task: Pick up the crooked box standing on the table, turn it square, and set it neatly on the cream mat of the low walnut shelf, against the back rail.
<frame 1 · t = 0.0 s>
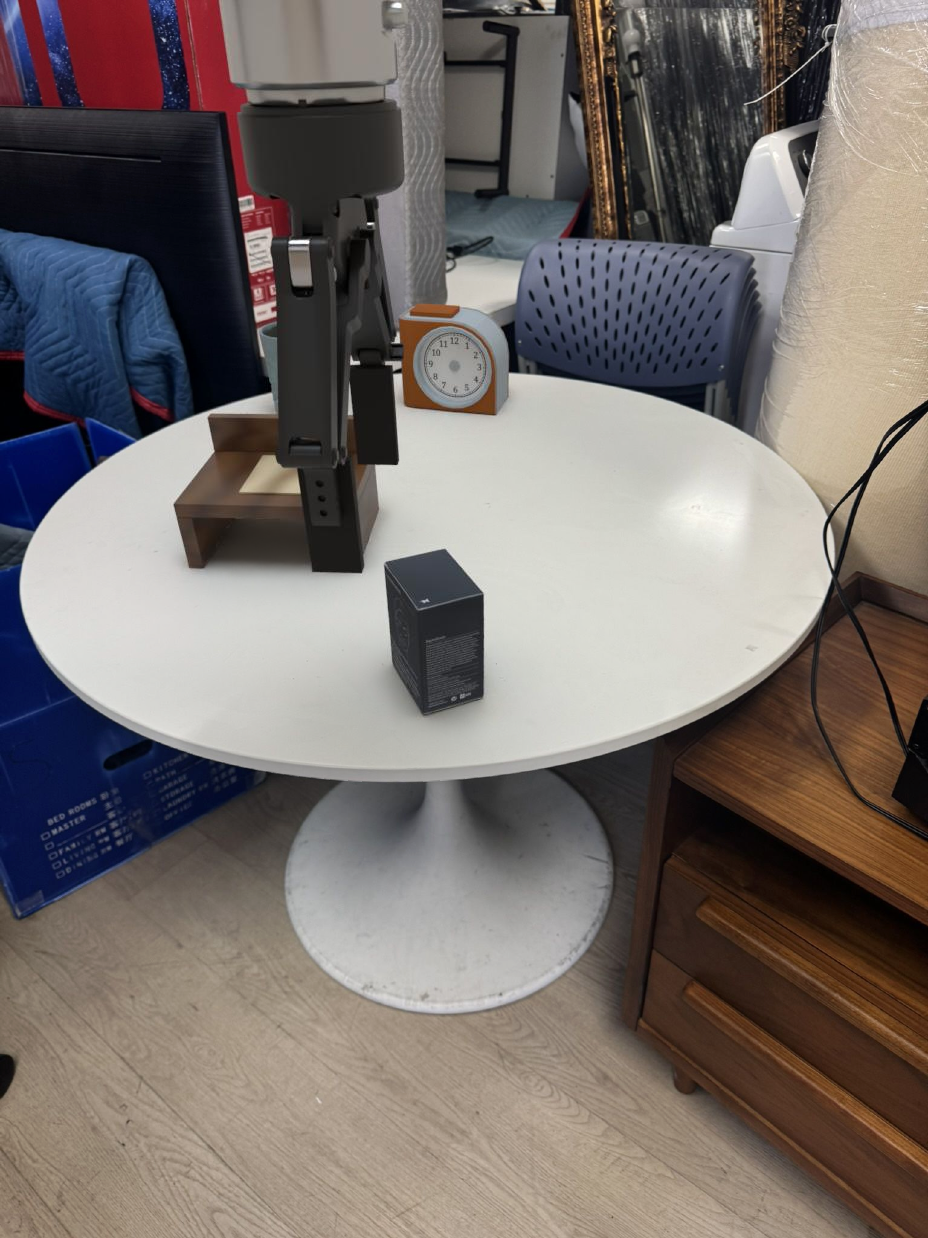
hand: (360, 510, 50), 22 cm above the table, tool pointing down, fingers open, 13 cm apart
shelf: (289, 536, 91), on the table
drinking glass: (306, 410, 122), on the table
alarm clock: (454, 402, 124), on the table
box: (436, 681, 70), on the table
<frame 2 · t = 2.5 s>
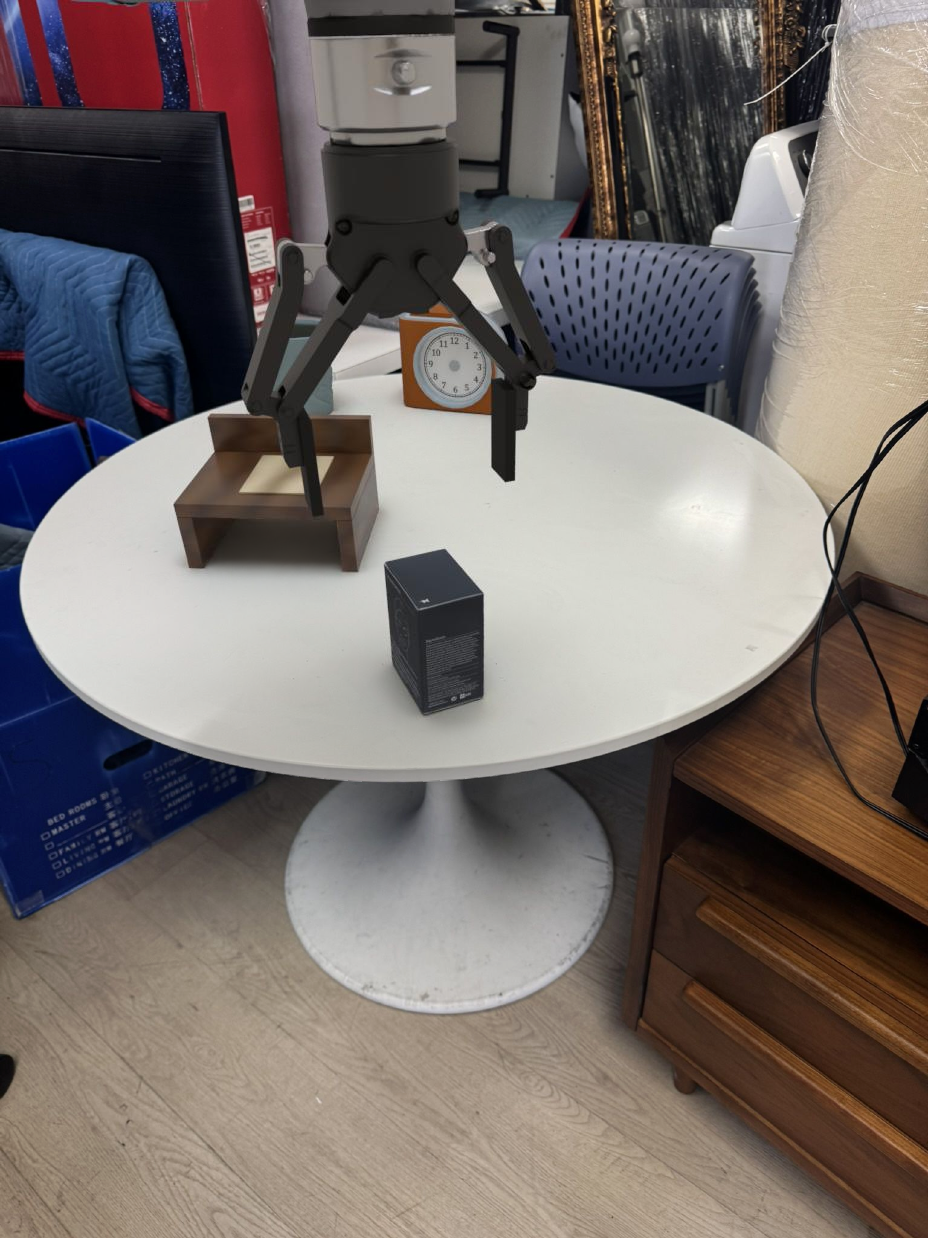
hand: (411, 490, 56), 19 cm above the table, tool pointing down, fingers open, 13 cm apart
nothing on the table moved.
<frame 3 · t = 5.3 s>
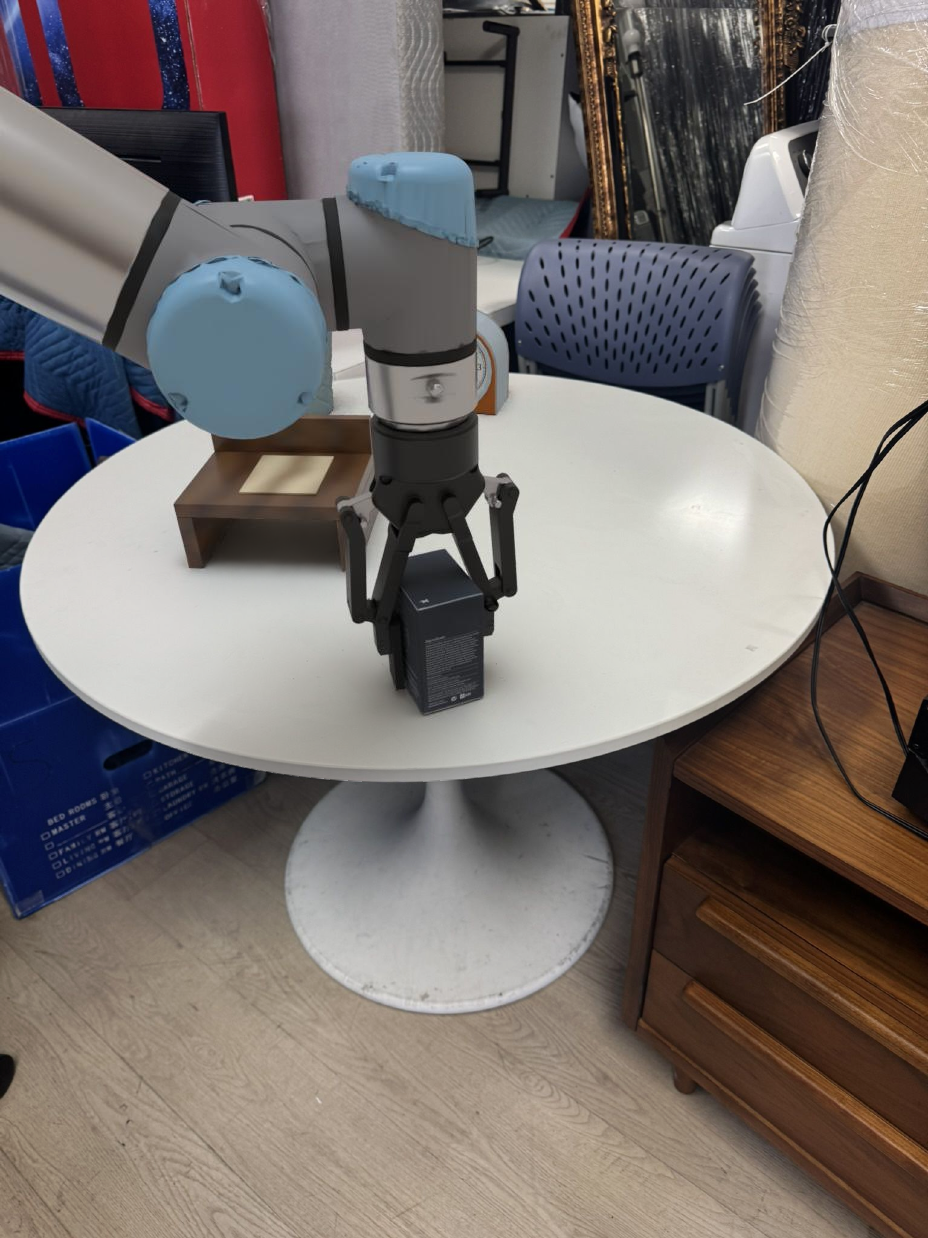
hand: (436, 671, 70), 1 cm above the table, tool pointing down, fingers closed on box, 6 cm apart
box: (437, 681, 70), on the table, touching gripper
everything else where it was.
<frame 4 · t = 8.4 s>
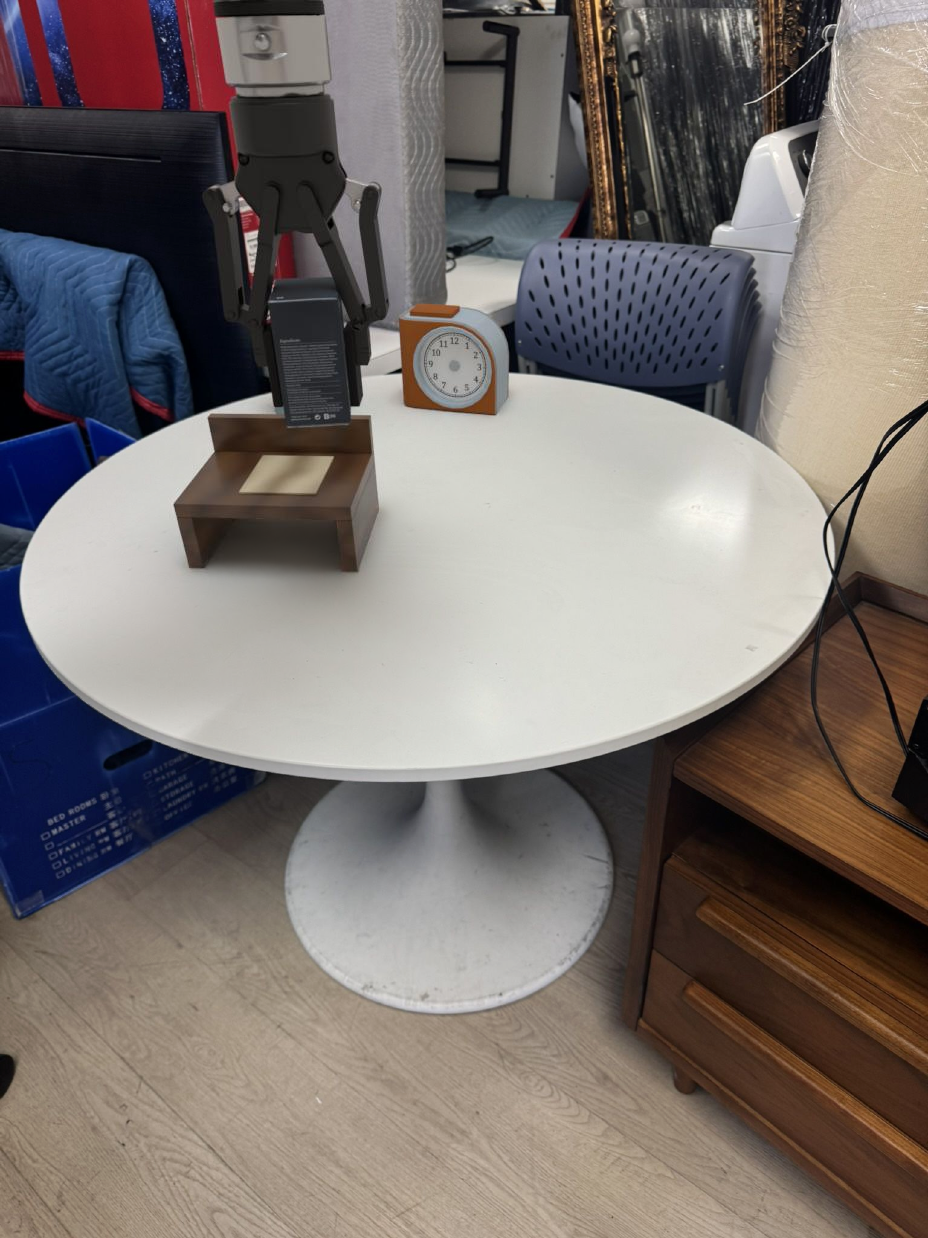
hand: (319, 400, 72), 19 cm above the table, tool pointing down, fingers closed on box, 6 cm apart
box: (321, 413, 73), point 18 cm above the table, touching gripper
everything else where it was.
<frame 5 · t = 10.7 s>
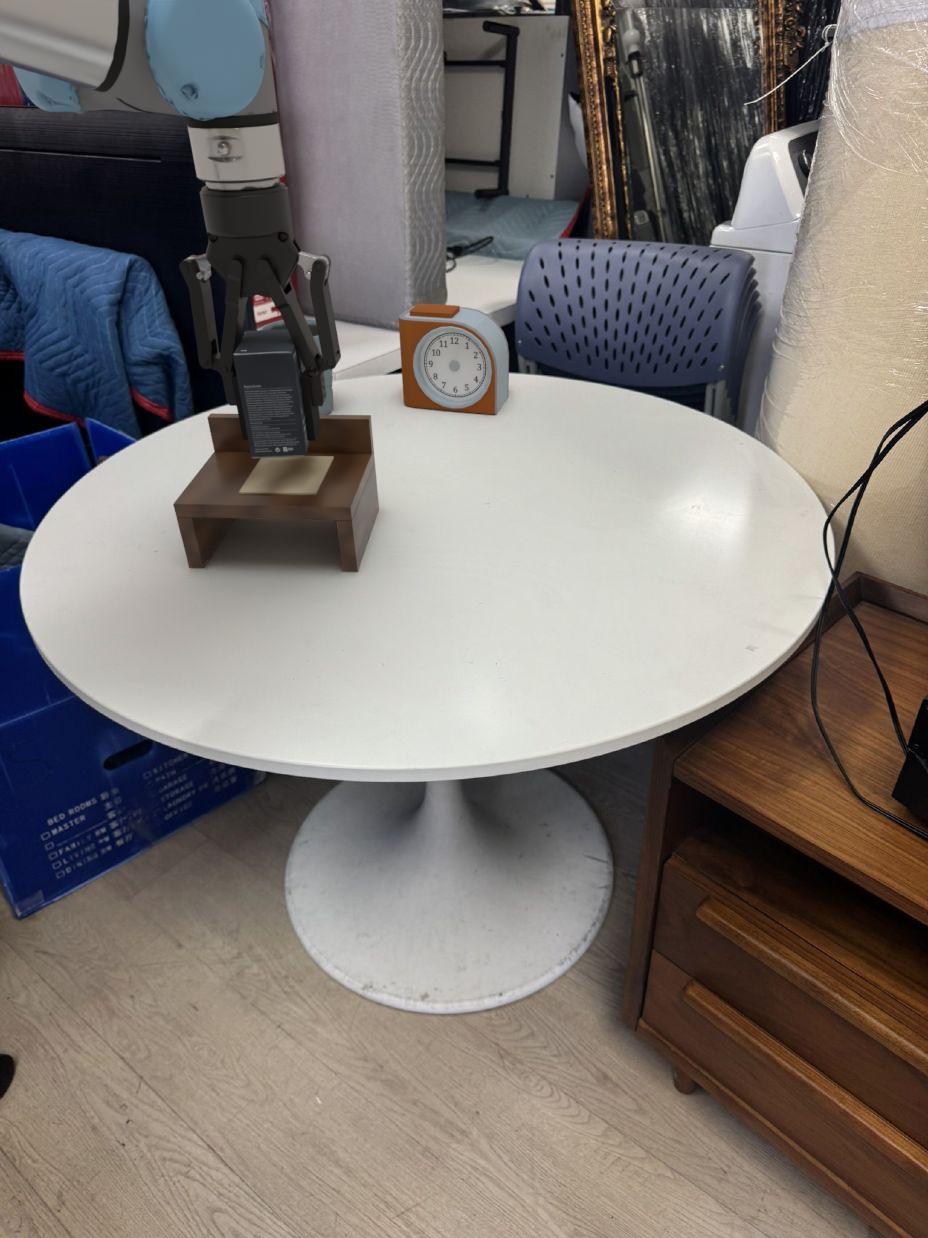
hand: (282, 434, 84), 12 cm above the table, tool pointing down, fingers closed on box, 6 cm apart
box: (284, 444, 85), point 11 cm above the table, touching gripper
everything else where it was.
when the fingers open (9 cm above the table, at t = 12.0 s): box stays where it is, resting on shelf.
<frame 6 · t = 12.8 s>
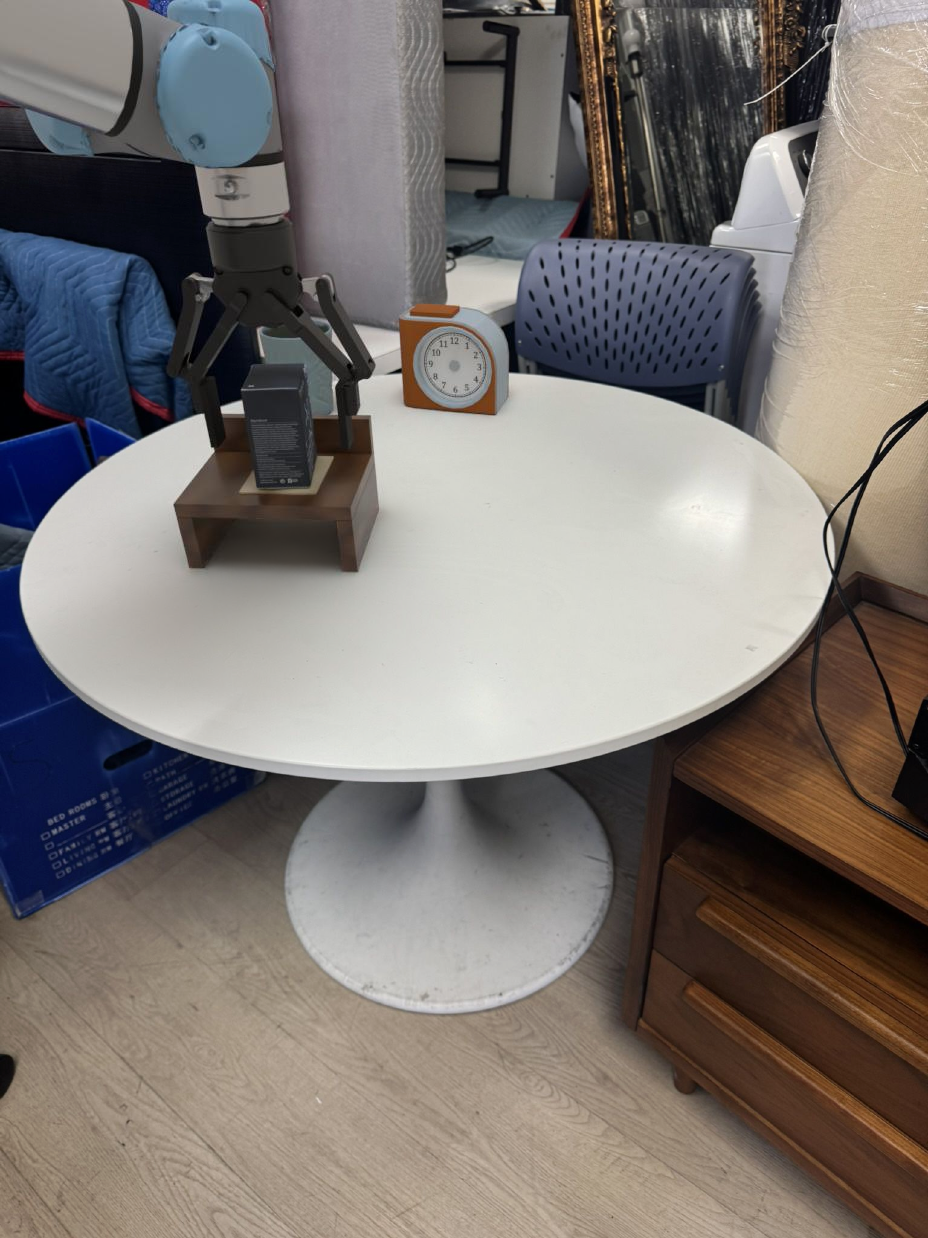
hand: (283, 443, 84), 11 cm above the table, tool pointing down, fingers open, 13 cm apart
box: (288, 474, 86), point 8 cm above the table, touching shelf
everything else where it was.
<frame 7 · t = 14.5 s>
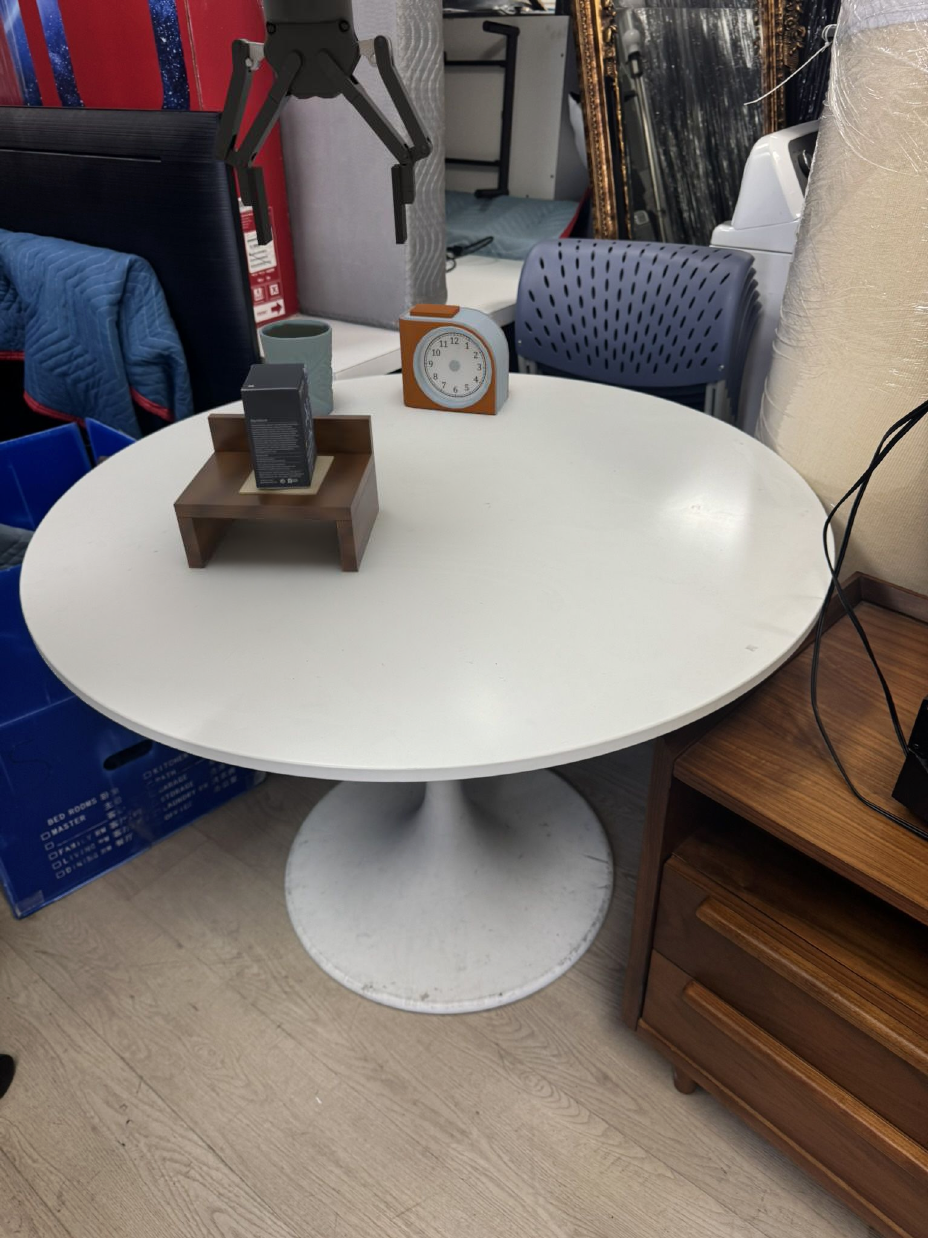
hand: (333, 242, 80), 29 cm above the table, tool pointing down, fingers open, 13 cm apart
nothing on the table moved.
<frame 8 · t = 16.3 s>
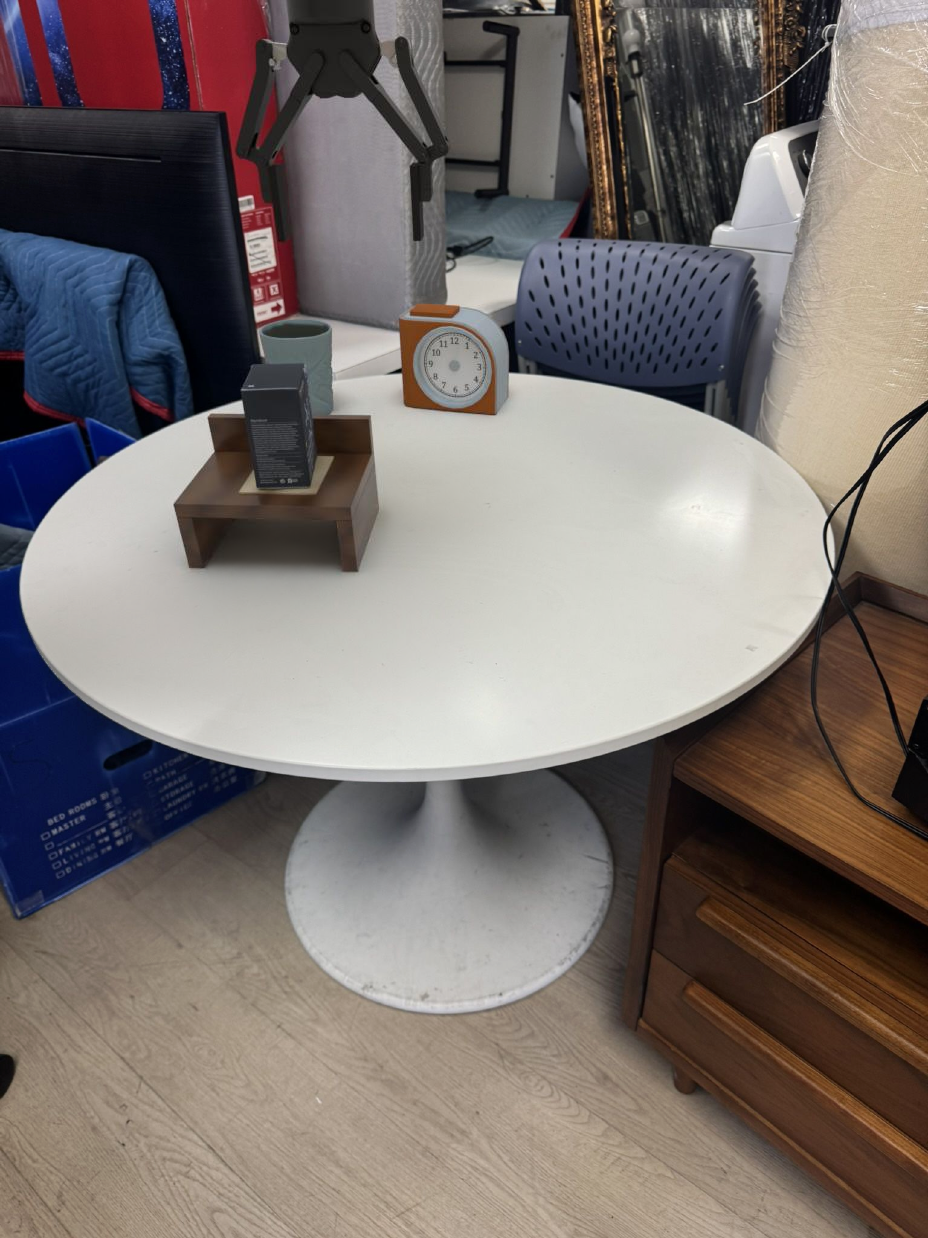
hand: (351, 239, 82), 29 cm above the table, tool pointing down, fingers open, 13 cm apart
nothing on the table moved.
at the end: box inside the target area on the shelf (0.0 cm from its centre), point 7.5 cm above the shelf's base; box tilted 0°; the gripper is holding nothing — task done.
